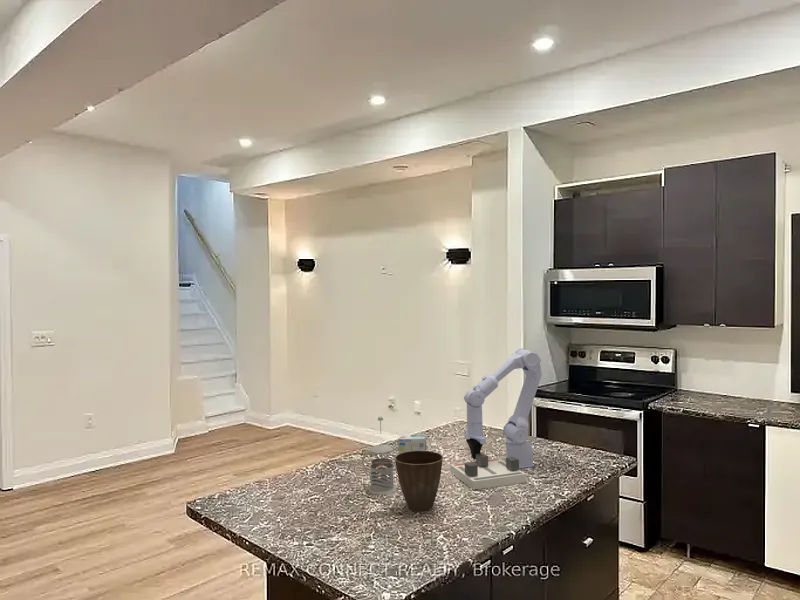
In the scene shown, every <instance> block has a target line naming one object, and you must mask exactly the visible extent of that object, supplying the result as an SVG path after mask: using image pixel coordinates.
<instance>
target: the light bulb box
mask: <svg viewBox="0 0 800 600" xmlns="http://www.w3.org/2000/svg"><path fill="white" fill-rule="evenodd" d="M397 443H398V444H397V445H398V446H397V448H398V449H397V450H398V454H401V453H404V452H409V451H428V450H427V449H428V448H427V434H399V436H398V438H397Z"/></svg>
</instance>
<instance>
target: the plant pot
mask: <svg viewBox="0 0 800 600" xmlns="http://www.w3.org/2000/svg"><path fill="white" fill-rule="evenodd" d="M443 459H444V457H443V455H442V454H441V453H439V452H436V451H430V450H429V451H428V450H427V451H409V452H404V453H401V454H399V453H398V454H396V456H395V457H394V463H395V468H396V474H397V478H398V482H399V485H400V490H401V493H402V496H403V498H404V500H405V503H406V505H407V508H408V510H409V511H411V512H414V513H425V512H426V513H427V512H429V511H431V510H432V509H433V506H434V503H435V501H436V498H437V494H438V489H439V485H440V480H441V477H442V470H443V469H442V468H443Z"/></svg>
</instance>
